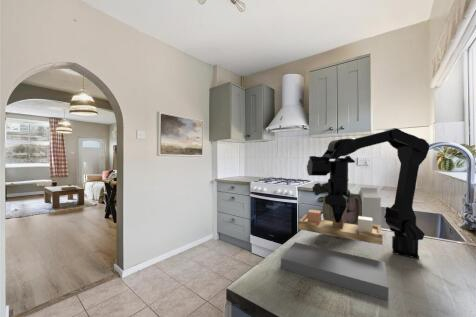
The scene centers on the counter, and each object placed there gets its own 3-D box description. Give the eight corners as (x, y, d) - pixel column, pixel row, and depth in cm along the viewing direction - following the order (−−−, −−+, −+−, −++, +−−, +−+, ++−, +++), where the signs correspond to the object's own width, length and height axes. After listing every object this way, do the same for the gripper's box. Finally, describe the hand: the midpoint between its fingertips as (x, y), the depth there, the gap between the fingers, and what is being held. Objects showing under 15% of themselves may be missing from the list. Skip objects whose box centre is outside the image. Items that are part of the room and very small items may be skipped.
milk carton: (380, 231, 95) (380, 189, 95) (362, 230, 96) (363, 188, 96) (373, 226, 102) (374, 186, 101) (357, 225, 103) (357, 186, 103)
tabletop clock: (338, 240, 84) (339, 177, 84) (320, 233, 92) (321, 175, 92) (361, 234, 91) (362, 176, 90) (343, 228, 99) (343, 174, 98)
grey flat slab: (384, 272, 61) (384, 262, 61) (388, 300, 49) (388, 287, 49) (294, 250, 75) (295, 242, 75) (280, 268, 63) (281, 258, 63)
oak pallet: (380, 235, 71) (381, 207, 71) (382, 245, 63) (382, 214, 63) (305, 222, 85) (305, 199, 84) (298, 229, 76) (298, 204, 76)
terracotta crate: (321, 221, 79) (321, 210, 79) (319, 224, 75) (319, 213, 75) (310, 219, 81) (310, 209, 81) (307, 222, 77) (307, 211, 77)
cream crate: (372, 229, 70) (372, 217, 70) (372, 233, 67) (372, 220, 67) (358, 227, 72) (358, 215, 72) (357, 231, 69) (357, 218, 69)
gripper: (319, 172, 86) (319, 211, 86) (308, 176, 70) (308, 223, 70) (350, 174, 80) (350, 215, 80) (346, 178, 64) (345, 230, 64)
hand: (338, 220), depth 74 cm, fingers closed on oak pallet, 4 cm apart
